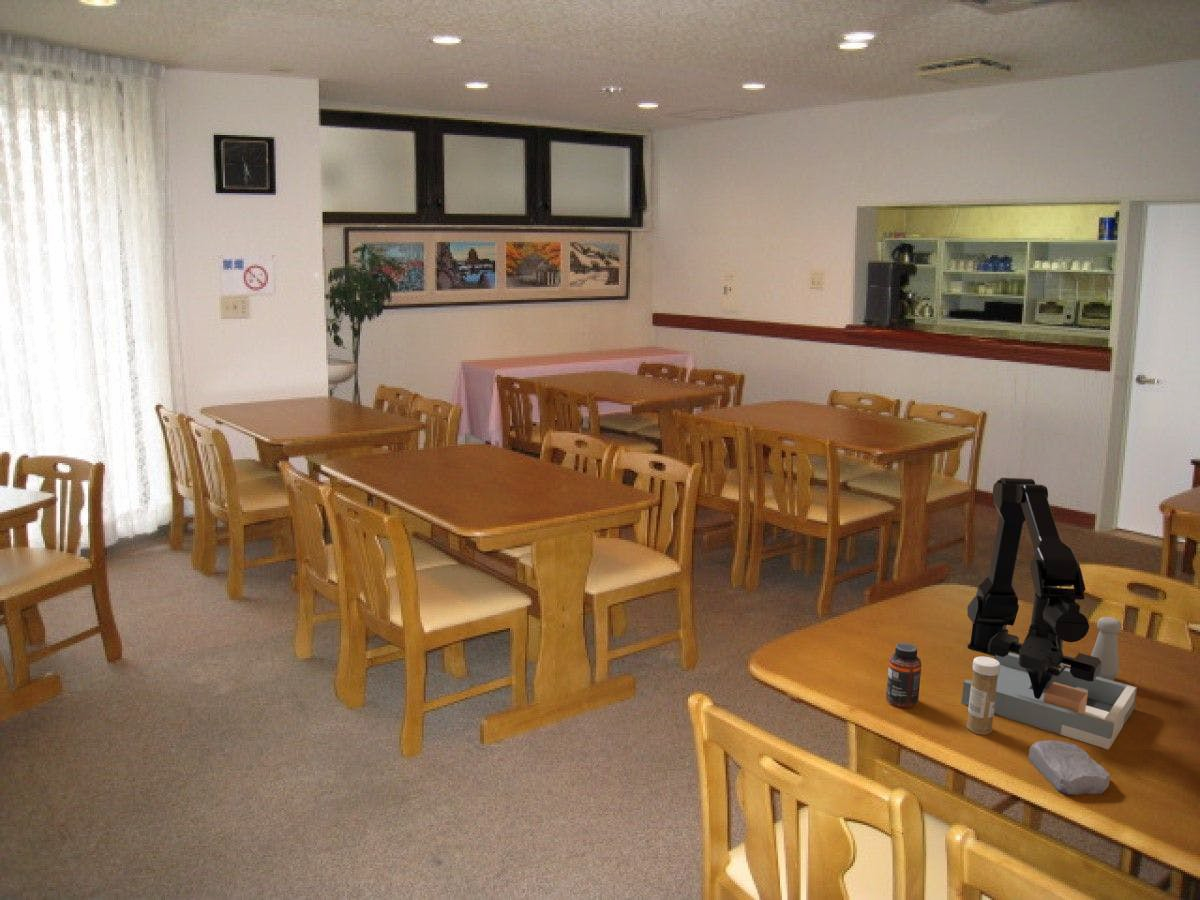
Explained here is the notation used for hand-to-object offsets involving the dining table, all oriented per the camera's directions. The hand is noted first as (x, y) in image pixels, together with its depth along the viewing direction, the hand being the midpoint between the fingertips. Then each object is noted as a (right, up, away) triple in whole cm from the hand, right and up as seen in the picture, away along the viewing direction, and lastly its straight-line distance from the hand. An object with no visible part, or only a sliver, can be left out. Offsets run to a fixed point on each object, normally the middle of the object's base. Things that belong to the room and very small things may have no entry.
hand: (1037, 698), depth 190 cm
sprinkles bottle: (-13, -4, -6) cm, 15 cm away
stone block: (-3, -8, -20) cm, 22 cm away
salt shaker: (+20, 0, +16) cm, 26 cm away
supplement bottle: (-24, -2, +4) cm, 25 cm away
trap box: (+3, -2, +4) cm, 6 cm away
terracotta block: (+4, -2, -3) cm, 5 cm away
